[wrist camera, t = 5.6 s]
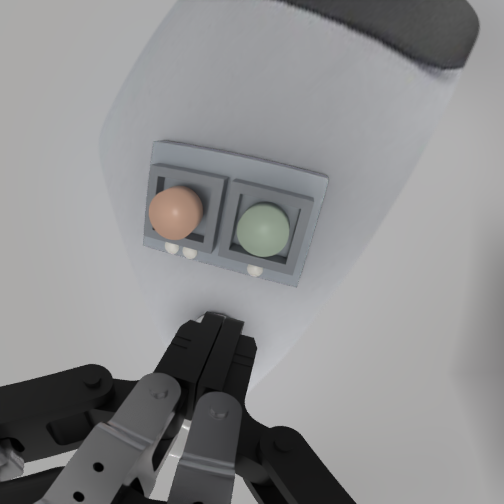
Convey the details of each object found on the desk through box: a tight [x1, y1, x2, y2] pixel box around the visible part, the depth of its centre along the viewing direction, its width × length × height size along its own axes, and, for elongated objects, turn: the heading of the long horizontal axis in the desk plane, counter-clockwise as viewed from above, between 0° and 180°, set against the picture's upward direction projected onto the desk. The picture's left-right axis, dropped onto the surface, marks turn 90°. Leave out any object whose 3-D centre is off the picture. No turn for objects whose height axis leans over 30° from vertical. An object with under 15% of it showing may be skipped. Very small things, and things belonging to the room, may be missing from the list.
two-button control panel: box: [143, 140, 329, 287], centre depth 25 cm, size 10×15×4 cm, turn 78°
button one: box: [237, 202, 290, 257], centre depth 23 cm, size 4×4×2 cm
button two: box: [149, 186, 203, 240], centre depth 23 cm, size 4×4×2 cm
